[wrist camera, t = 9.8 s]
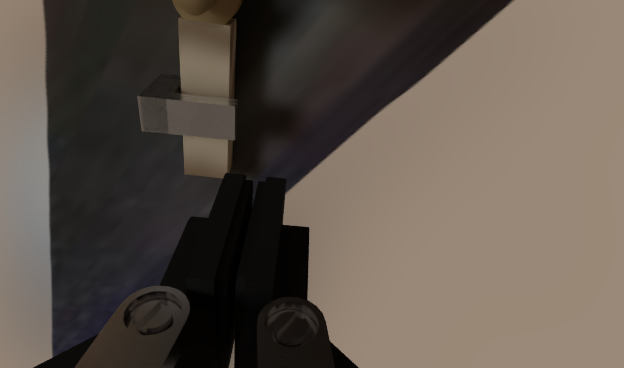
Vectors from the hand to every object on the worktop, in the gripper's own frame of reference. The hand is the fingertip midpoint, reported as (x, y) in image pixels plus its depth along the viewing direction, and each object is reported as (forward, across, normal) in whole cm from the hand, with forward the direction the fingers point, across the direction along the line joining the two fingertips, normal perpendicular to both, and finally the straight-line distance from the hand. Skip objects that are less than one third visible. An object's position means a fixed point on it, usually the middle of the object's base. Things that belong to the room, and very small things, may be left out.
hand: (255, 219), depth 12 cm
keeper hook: (+27, +8, +7) cm, 29 cm away
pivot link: (+27, +7, +5) cm, 28 cm away
